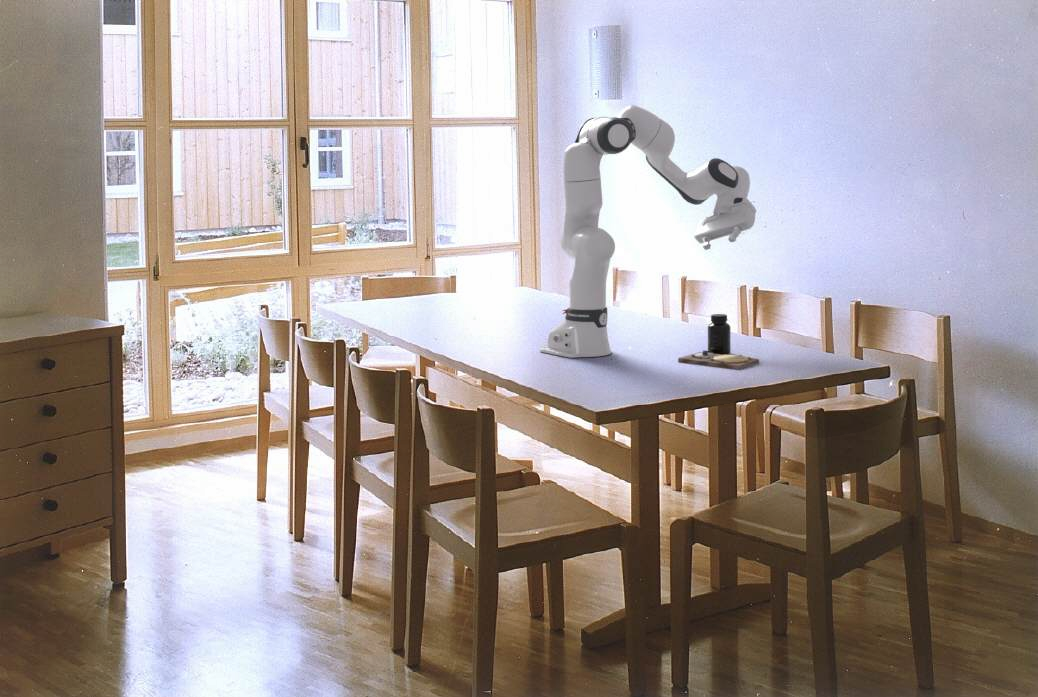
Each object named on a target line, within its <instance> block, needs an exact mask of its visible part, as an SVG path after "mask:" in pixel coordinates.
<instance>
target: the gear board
mask: <svg viewBox="0 0 1038 697" xmlns="http://www.w3.org/2000/svg"><path fill="white" fill-rule="evenodd" d="M677 362H678V363H684V364H692V365H700V366H705V367H706V366H707V367H713V368H722V369H730V370H737V371H738V370H741V369H744V368H748V367H752V366H754V365H757V364H759V363H760V359H759V358H752V357H751V356H745V355H742V354H729V355H727V354H724V355H721V354H714V353H708V350H707V349H706V350H705V349H704V350H702V351H699V352H695V353H691V354H688V355H685V356H681V357H678V358H677Z"/></svg>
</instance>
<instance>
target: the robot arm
mask: <svg viewBox="0 0 1038 697" xmlns="http://www.w3.org/2000/svg"><path fill="white" fill-rule="evenodd" d="M575 138H576V139H575V141H574V143H572V144H569V146H567V148H566V149H565V151H564V157H563V170H562V171H563V185H564V188H563V189H564V197H565V198H564V199H565V213H564V214H565V216H564V222H563V223H564V225H563V233H562V236H561V239H560V245H561V248H562V250H563V251H564V253H565V254H566V255H567V256H568V257H569V258H571V259H572V260H574V266H573V267H574V268H573V272H572V276H571V279H570V281H569V307H568V308H567V309H563V310H562V314H563V315H565V314H566V315H565V317H564V318H565V319H564V320H562V321H561V322H560V323H559V324H558V325H556V326H555V327H554V328H553V329H551V330H550V331H549V334H548V337H547V345H544V346H542V347H540V349H539V350H540V351H539V352H541V353H545V354H550V355H553V356H554V355H555V356H558V357H559V356H560V357H566V358H592V357H593V358H595V357H603V356H608V355H610V354H612V350H611V346H610V342H609V337H608V327H607V325H608V307H607V278H608V272H609V267H610V263H611V259H612V257H613V256H614V255H615V254H614V253H615V250H616V243H615V241H614V238H613V236H612V235H611V234H610V233H609V232H607V231H606V230H605V229H603V228H600V227H599V221H600V220H599V219H600V215H601V214H600V213H601V210H602V207H603V193H602V181H601V180H602V178H601V169H600V167H601V162H602V161H601V160H602V157H603V156H606V155H617V154H620V153H622V152H624V151H625V150H627V148H628V147H629V146H630V145H631V144H632V145H633V146H634V147H636V148H637V149H639V150H640V151H641V152H643V154H644V155H645V160H646V162H647V163H648V165H649V167H650V168H652V169H653V170H654V171H655V172H656V173H657V174H658V175H659V176H660V177H661V178H663V179H664V180H665V181H666V182H667V183H668V184H669V185H671V187H673V188H674V189H675V190H676V191H677V192H678V193H679V195H680V196H681V197H682V199H683V200H684V201H686V202H687V203H689V204H691V205H696V206H697V205H698V206H699V205H702V204H703V203H705V201H707V200H708V199H709V198H711V197H712V196H713V195H715V196H717V197H716V198H717V199H716V202H715V205H714V209H713V215H710V216H707V217H704V218H703V219H701V220H700V221H699V223H698V225H697V226H696V229H695V231H694V234H693V237H694V239H695V240H696V242H698V243H699V244H703V246H702V248H703V249H704V250H705V251H708V250H710V249H711V246H712V245H711V244H710V242H711V241H713V240H719V239H720V238H723V237H726V236H728V238H727V239H728V241H729V242H730V243H735V242H736V240H737V238H738V237H739V236H740V235H741V233H742V232H743V231H748V230H750V229H752V227H754V225H755V221H756V213H757V209H756V207H755V206H754V204H752V202H751V201H750V200H749V199H748V196H749V192H750V186H751V178H750V175H749V173H748V171H747V170H746V169H745V168H744V167H741V166H737V165H736V166H735V165H734V166H732V165H731V164H730V163H729V162H727V161H725V160H724V159H721V158H717V157H714V158H712V159H709V160H708V161H706V162H705V163H703V164H702V165H701V166H699V167H698V168H696V169H695V170H693V171H691V172H685V171H684V170H682V168H680V166H679V165H677V164H676V163H675V162H674V161H672V160H671V158H670V155H671V153H672V152H673V150H674V146H675V142H676V135H675V131H674V129H673V127H672V126H671V125H670V124H669V123H668V122H667V121H665V120H663V119H662V118H661V117H659V116H657V115H656V114H654V113H652V112H651V111H648V110H646V109H644V108H642V107H640V106H637V105H635V104H634V105H633V104H632V105H631V104H630V105H627V106H626V107H624V108H623V109H622V110H621V111H620V112H619V113H618V115H617V117H614V116H613V117H610V116H599V117H592V118H588V119H587V120H585V121H583V123H581V125H580V127H579V128H578V132H577V135H576V137H575Z"/></svg>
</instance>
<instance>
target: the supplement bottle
mask: <svg viewBox="0 0 1038 697" xmlns="http://www.w3.org/2000/svg"><path fill="white" fill-rule="evenodd" d="M727 322H728V314H725V313H716V314H715V313H714V314H711V315H710V323H709V324H708V325H707V351H708V353H714V354H721V355H724V354H727V355H731V350H732V349H731V347H732V346H731V345H732V344H731V325H730V324H729V323H727Z"/></svg>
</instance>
